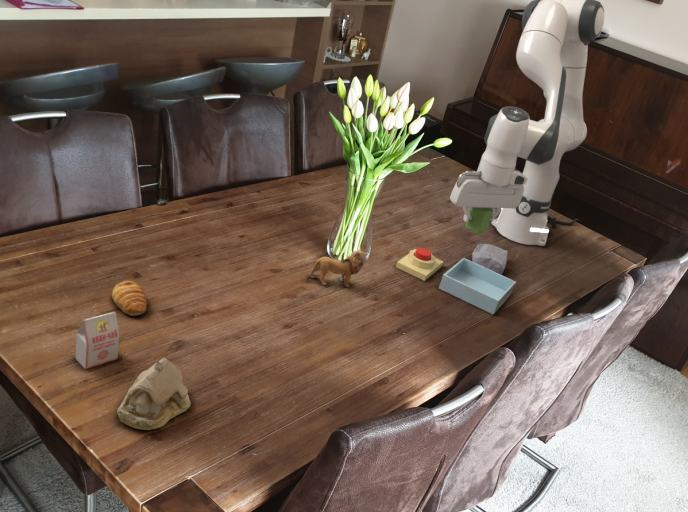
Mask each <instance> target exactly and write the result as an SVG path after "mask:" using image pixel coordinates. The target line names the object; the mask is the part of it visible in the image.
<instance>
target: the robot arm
mask: <svg viewBox="0 0 688 512" xmlns="http://www.w3.org/2000/svg"><path fill="white" fill-rule="evenodd" d="M604 23H605V9H604V6H603V4H602V3H601V1H599V0H531V1H530V2H529V3H528V4H527V5H526V6H525V7H524V10H523V13H522V17H521V29H522V33H521V36H520V38H519V41H518V44H517V48H516V53H515V58H516V62H517V66H518V68H519V69H520V71H521V72H522V74H523V75H525V77H527V78H528V79H529V80H531V81H532V82H533V83H535V84H536V85H537V86H538V87H539V88H540V89H541V90H542V91H543V97H544V98H545V100H546V105H545V111H544V118H541V119H540V120H538V121H536V120H532V119H530V114H529V113H528V112H527V111H526V110H524V109H522V108H519V107H517V106H510V105H508V106H504V107H502V108H501V109H500V110H499V112H498V113H497V114H495V115H493V116H491V117H490V118H489V120H488V124H487V128H486V132H485V134H484V137H483V140H484V142H485V144H486V148H485V151H484V152H483V153H482V155H481V158H480V161H479V163H478V167H477V169H476V171H475V170H473V171H471V170H465V171H464V172H462V173H461V174H459V175H458V177H457V180H456V182H455V184H454V187H453V189H452V191H451V194H450V196H449V199H450V202H451V203H452V205H454V206H455V207H456V208H463V212H464V214H463V217H462V220H463V221H464V222H465V223H466V222H471V219H472V217H473V216H472V215H471V214H470V211H471V210H472V208H473V207H478V208H490V209H492V210H494V211H493V214H492V217H491V220H490V224H491V225H492V226H494V227H495V229H496V230H497V232H498V233H499V234H500V235H501V236H503V237H504V238H506V239H507V240H510V241H512V242H515V243H518V244H522V245H526V246H538V247H539V246H540V247H545V246H546V243H547V240H548V235H549V232H550V227H548V226H547V225H551V226H552V228H555V226H556V223H557V224H562V225H572V224H574V223H576V222H577V223H581V219H579V218H575V219H573V220H571V221H563V220H560V219H559V220H558V219H557V217H556V216H554V215H553V214H552V213H550V212H549V210H550V207H551V206H552V205H551V204H552V198H553V195H554V193H555V190H556V188H557V186H558V183H559V180H560V177H561V176H560V164H561V160H562V158H563V155H564V154H565V153H568V152H571V151H573V150H575V149H577V148H578V147H579V146H580V145H581V144H582V143H583V142H584V141H585V140H586V138H587V134H588V128H587V124H586V123H585V120H584V108H583V93H584V86H585V85H584V84H585V78H586V71H587V63H588V50H589V47H588V46H589V44H590V43H591V42H592V41H595V40H596V39H597V37H598V36H599V35H600V34H601V32H602V29H603V26H604ZM518 158H521V159H524V160H525V164H524V167H523V170H522V172H521V171H519V170H518V169H517V168H516V166H517V160H518ZM497 216H498V217H497ZM496 217H497V218H496Z"/></svg>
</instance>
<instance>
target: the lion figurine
mask: <svg viewBox="0 0 688 512" xmlns="http://www.w3.org/2000/svg"><path fill="white" fill-rule="evenodd" d="M351 253H352V254H350V255H348V256H347V258H344V259H334V258H331V257H329V256H322V257H320V258H319V259H317V260H316V262H315V263H314V265H313V267H312V269H311V271H310V273H309V275H308V276H307V277H306V278H305V280H307V281H308V280H310V279H311V278H312V279H315V278H316V275H315V273H316V272H318V271H320V276H319V279H320V283H321V285H322V286H327V285H328V284H327V281H325V277H326V275H328V272H329V271H330V272H331V273H332V274H335V275H340V277H339V280H340V281H341V282H343V283H344V286H345V287H346V288H350V283H349V282H350V280H351V277H352V276H353V275H357V274H359V272H360V271H361V270H362V269H363V267H364V265H365V264H366V261H367V259H366V256H367V253H365V252H364V251H363V250H360V249H359V250H354V251H352V252H351Z"/></svg>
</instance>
